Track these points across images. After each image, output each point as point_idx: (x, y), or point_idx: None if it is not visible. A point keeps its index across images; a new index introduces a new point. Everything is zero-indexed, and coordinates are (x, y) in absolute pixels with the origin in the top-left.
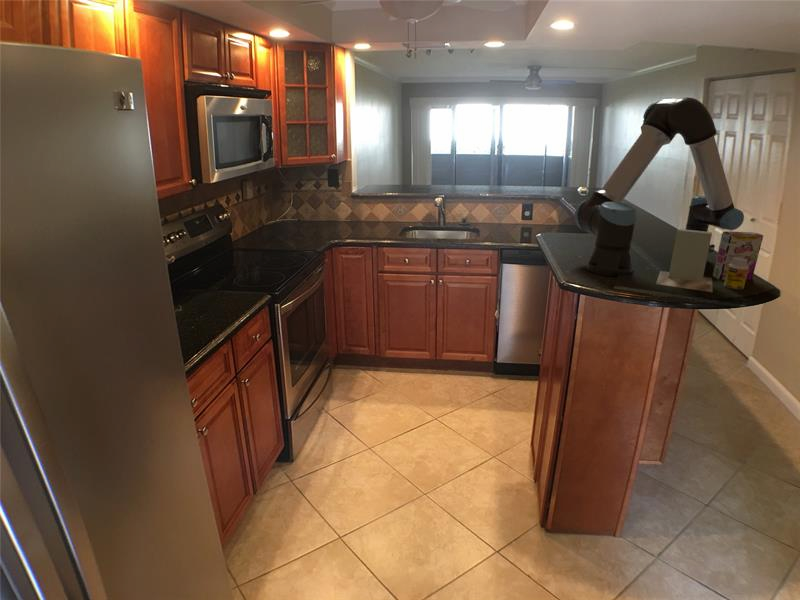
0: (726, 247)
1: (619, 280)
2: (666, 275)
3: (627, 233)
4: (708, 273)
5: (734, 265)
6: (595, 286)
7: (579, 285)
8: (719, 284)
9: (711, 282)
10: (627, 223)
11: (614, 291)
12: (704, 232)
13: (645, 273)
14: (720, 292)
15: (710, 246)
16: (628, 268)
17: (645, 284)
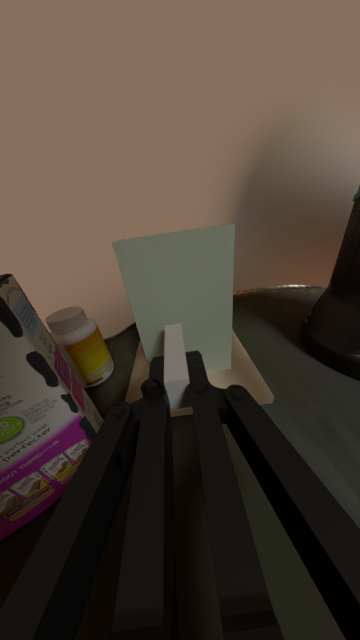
0: (48, 334)
1: (284, 316)
2: (234, 364)
3: (346, 229)
4: (97, 610)
5: (87, 319)
6: (279, 291)
7: (294, 286)
8: (111, 399)
9: (133, 372)
10: (357, 192)
11: (251, 292)
12: (140, 237)
13: (300, 381)
14: (127, 348)
15: (6, 598)
16: (304, 323)
17: (241, 321)
